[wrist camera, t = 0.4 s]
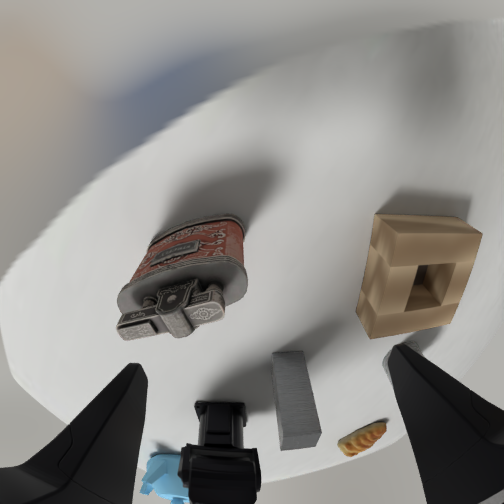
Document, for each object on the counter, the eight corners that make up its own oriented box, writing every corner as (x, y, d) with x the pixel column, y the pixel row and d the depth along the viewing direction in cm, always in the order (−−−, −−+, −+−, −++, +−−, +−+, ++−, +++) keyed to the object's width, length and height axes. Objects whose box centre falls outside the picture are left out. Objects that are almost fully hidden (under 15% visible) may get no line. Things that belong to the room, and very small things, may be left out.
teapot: (141, 462, 45) (135, 500, 35) (148, 443, 39) (140, 492, 29) (205, 476, 48) (204, 513, 39) (226, 459, 42) (226, 506, 33)
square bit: (299, 369, 29) (315, 446, 20) (271, 371, 29) (280, 450, 20) (302, 350, 28) (321, 432, 19) (272, 353, 28) (283, 437, 19)
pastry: (372, 417, 37) (378, 435, 34) (391, 420, 39) (397, 436, 36) (333, 441, 41) (337, 457, 37) (354, 443, 43) (358, 458, 39)
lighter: (236, 205, 20) (235, 276, 12) (250, 244, 22) (258, 333, 13) (142, 237, 21) (89, 316, 12) (160, 272, 23) (123, 360, 14)
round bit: (409, 365, 31) (426, 397, 26) (377, 372, 31) (392, 408, 25) (422, 338, 29) (444, 371, 23) (389, 345, 28) (409, 382, 23)
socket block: (432, 301, 26) (450, 323, 22) (355, 311, 26) (369, 339, 22) (457, 217, 21) (482, 233, 18) (374, 214, 21) (398, 233, 18)
